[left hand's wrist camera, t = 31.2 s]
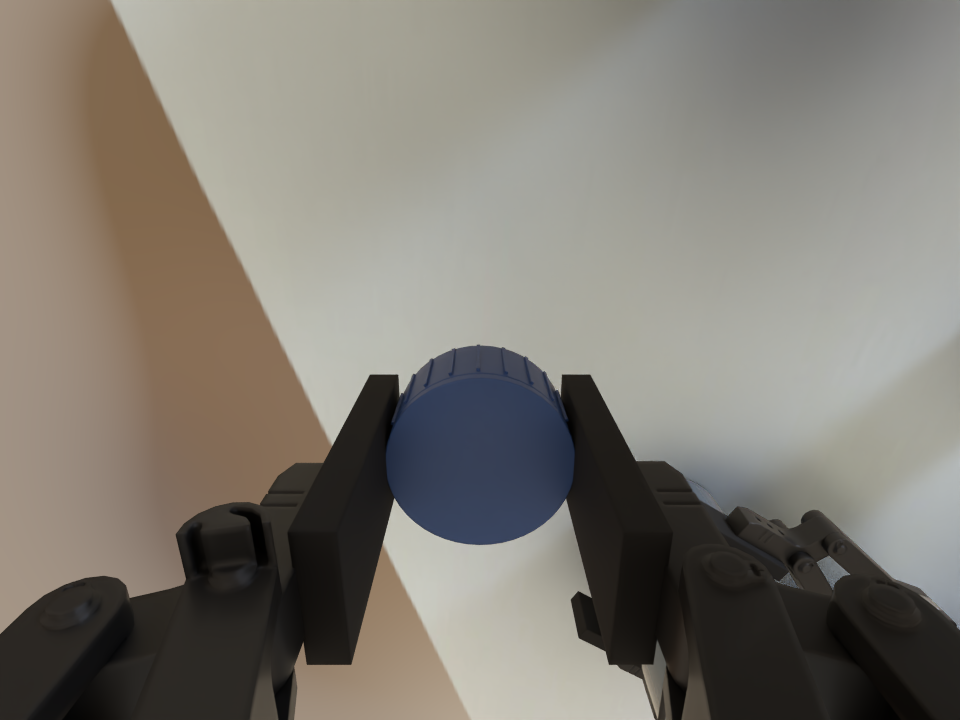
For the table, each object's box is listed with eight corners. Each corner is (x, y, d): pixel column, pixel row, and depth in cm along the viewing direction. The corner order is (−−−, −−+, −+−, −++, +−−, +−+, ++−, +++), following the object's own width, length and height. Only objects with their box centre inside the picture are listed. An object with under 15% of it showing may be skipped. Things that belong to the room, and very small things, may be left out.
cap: (521, 514, 16) (528, 570, 13) (373, 460, 15) (355, 509, 13) (593, 382, 14) (613, 421, 12) (433, 316, 14) (424, 345, 11)
